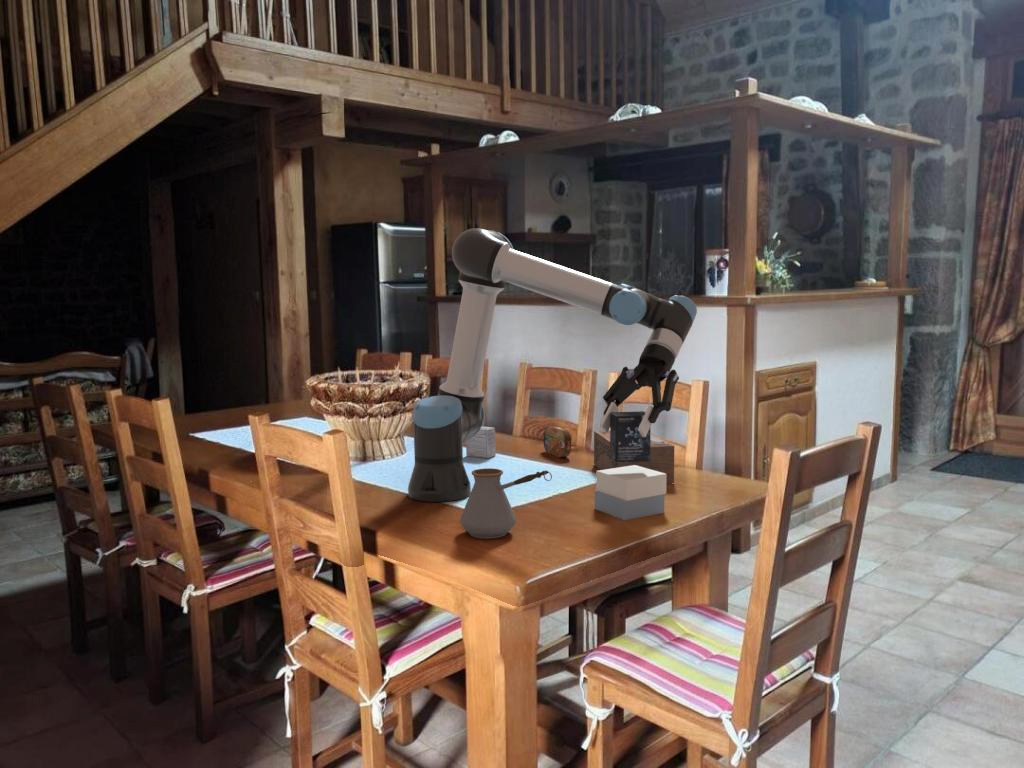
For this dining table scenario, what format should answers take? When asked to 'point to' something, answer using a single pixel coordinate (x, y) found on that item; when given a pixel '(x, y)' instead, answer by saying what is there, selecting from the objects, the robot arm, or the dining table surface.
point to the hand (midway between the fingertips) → (622, 431)
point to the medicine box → (482, 443)
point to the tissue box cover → (658, 462)
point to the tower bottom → (629, 506)
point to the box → (628, 438)
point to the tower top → (631, 482)
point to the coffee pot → (491, 504)
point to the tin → (557, 441)
